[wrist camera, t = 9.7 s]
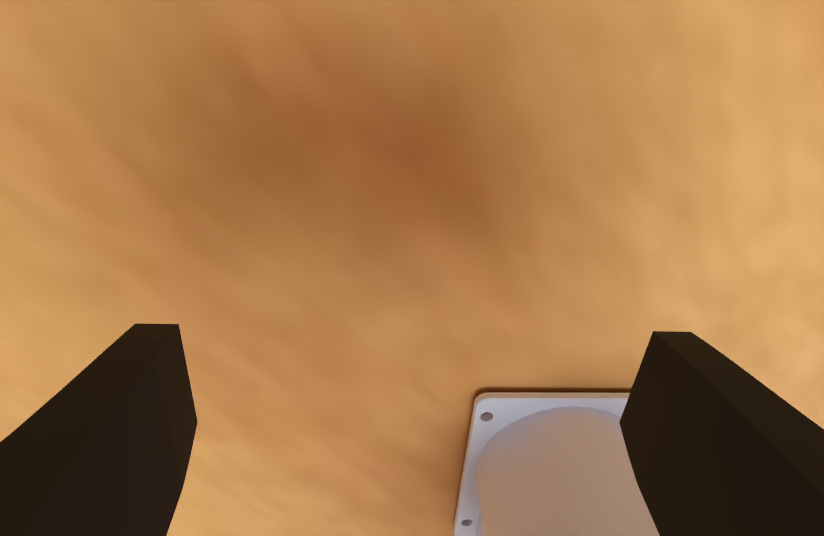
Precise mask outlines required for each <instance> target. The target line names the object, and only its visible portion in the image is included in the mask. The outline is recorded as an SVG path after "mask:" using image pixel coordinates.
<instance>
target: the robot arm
mask: <svg viewBox="0 0 824 536" xmlns="http://www.w3.org/2000/svg"><path fill="white" fill-rule="evenodd" d="M485 412H489V413H487V414H483V413H485ZM196 426H197V417H196V412H195V407H194V402H193V397H192V391H191V386H190V381H189V376H188V371H187V366H186V360H185V355H184V350H183V345H182V340H181V334H180V329H179V324H135V325H133V326H132V327H131V328H130V329H129V330H128V331H126V332H125V333H124V334H123V335H122V336H121V337H120V338H119V339H117V340H116V341H115V342H114V343H113V344H112V345H111V346H110V347H108V348H107V349H106V350H105V351H104V352H103V353H102V354H101V355H99V356H98V357H97V358H96V359H95V360H94V361H93V362H92V363H91V364H89V365H88V366H87V367H86V368H85V369H84V370H83V371H82V372H81V373H80V374H78V375H77V376H76V377H75V378H74V379H73V380H72V381H71V382H69V383H68V384H67V385H66V386H65V387H64V388H63V389H62V390H61V391H59V392H58V393H57V394H56V395H55V396H54V397H53V398H51V399H50V400H49V401H48V402H47V403H46V404H44V405H43V406H42V407H41V408H40V409H39V410H38V411H36V412H35V413H34V414H33V415H32V416H31V417H29V418H28V419H27V420H26V421H25V422H24V423H23V424H21V425H20V426H19V427H18V428H17V429H16V430H15V431H13V432H12V433H11V434H10V435H9V436H7V437H6V438H5V439H4V440H2V441H1V442H0V536H166V535H167V532H168V529H169V526H170V523H171V520H172V517H173V514H174V512H175V509H176V506H177V503H178V500H179V497H180V494H181V491H182V488H183V485H184V480H185V476H186V472H187V468H188V463H189V459H190V455H191V450H192V445H193V440H194V436H195V431H196ZM453 532H454V536H824V429H822V428H821V427H820V426H818V425H817V424H816V423H814V422H813V421H811V420H810V419H809V418H807V417H806V416H805V415H803V414H802V413H801V412H799V411H798V410H797V409H795V408H794V407H793V406H791V405H790V404H789V403H787V402H786V401H785V400H783V399H782V398H781V397H779V396H778V395H777V394H775V393H774V392H773V391H771V390H770V389H769V388H767V387H766V386H765V385H763V384H762V383H761V382H759V381H758V380H757V379H755V378H754V377H753V376H751V375H750V374H749V373H747V372H746V371H745V370H743V369H742V368H741V367H739V366H738V365H737V364H735V363H734V362H733V361H731V360H730V359H729V358H727V357H726V356H725V355H723V354H722V353H720V352H719V351H718V350H716V349H715V348H714V347H712V346H711V345H709V344H708V343H706V342H705V341H704V340H702V339H700V338H699V337H697V336H696V335H694V334H693V333H691V332H657V331H653V333H652V336H651V339H650V341H649V344H648V347H647V349H646V352H645V355H644V357H643V360H642V363H641V365H640V368H639V371H638V373H637V376H636V379H635V381H634V384H633V387H632V389H631V392H630V393H545V392H487V393H482V394H480V395H479V396H477V397H476V399H475V401H474V407H473V413H472V419H471V425H470V431H469V437H468V443H467V449H466V455H465V461H464V467H463V473H462V479H461V485H460V491H459V497H458V503H457V509H456V515H455V521H454V527H453Z"/></svg>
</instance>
